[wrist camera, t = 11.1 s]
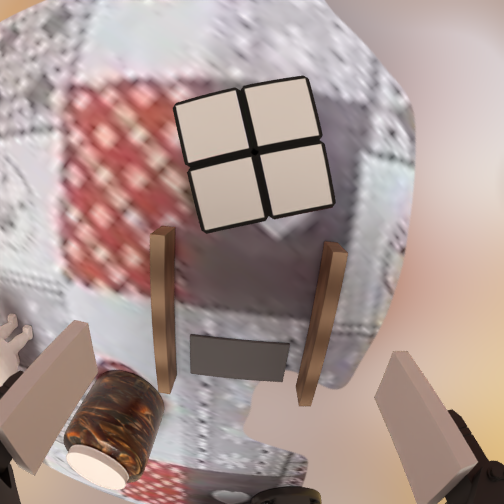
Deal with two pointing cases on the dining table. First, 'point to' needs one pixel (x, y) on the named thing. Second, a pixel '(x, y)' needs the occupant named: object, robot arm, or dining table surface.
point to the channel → (318, 328)
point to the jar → (114, 430)
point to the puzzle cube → (263, 145)
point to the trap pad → (238, 358)
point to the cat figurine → (11, 347)
